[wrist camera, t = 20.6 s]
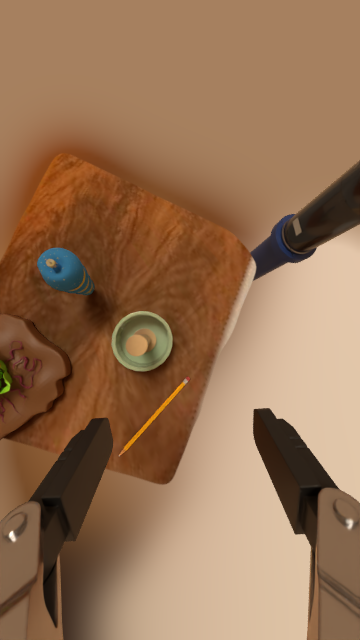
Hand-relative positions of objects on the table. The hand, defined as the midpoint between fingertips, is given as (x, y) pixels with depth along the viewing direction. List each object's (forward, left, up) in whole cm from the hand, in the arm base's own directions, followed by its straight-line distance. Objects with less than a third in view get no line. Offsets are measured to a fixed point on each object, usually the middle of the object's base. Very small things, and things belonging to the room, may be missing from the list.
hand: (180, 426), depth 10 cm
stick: (+2, -5, -25) cm, 26 cm away
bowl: (+2, -5, -26) cm, 26 cm away
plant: (+27, -6, -26) cm, 38 cm away
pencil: (+4, +10, -26) cm, 28 cm away
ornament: (+9, -17, -26) cm, 32 cm away
